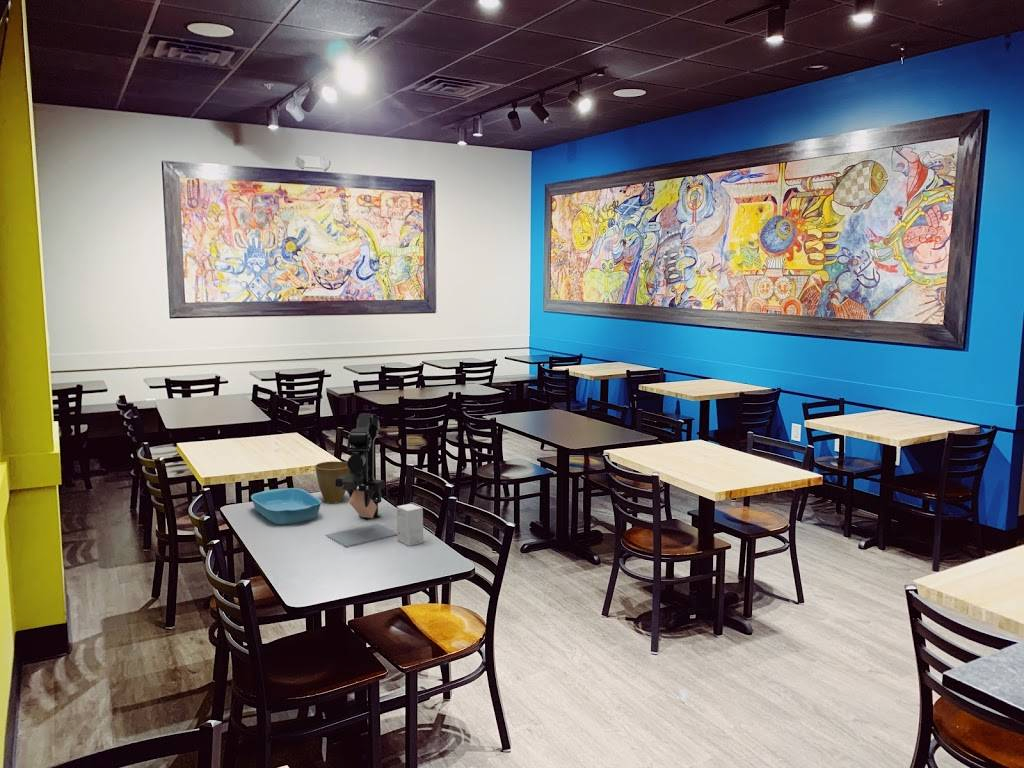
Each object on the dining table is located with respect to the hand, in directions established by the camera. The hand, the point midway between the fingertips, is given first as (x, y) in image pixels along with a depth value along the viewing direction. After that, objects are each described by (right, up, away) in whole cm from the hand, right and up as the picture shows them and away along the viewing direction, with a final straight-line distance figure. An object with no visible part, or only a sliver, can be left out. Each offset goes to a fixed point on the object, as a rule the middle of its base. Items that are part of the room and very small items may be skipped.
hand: (360, 505), depth 289 cm
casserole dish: (-35, -8, +27) cm, 46 cm away
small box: (+19, -12, -6) cm, 24 cm away
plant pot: (-21, -6, +47) cm, 51 cm away
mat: (+1, -11, +1) cm, 11 cm away
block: (+2, -3, +6) cm, 7 cm away
